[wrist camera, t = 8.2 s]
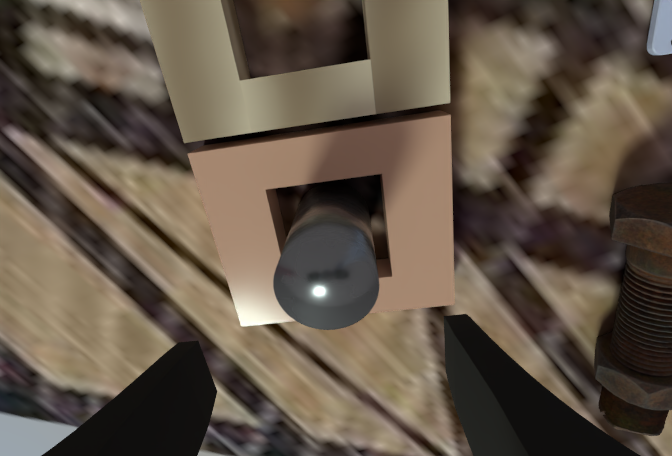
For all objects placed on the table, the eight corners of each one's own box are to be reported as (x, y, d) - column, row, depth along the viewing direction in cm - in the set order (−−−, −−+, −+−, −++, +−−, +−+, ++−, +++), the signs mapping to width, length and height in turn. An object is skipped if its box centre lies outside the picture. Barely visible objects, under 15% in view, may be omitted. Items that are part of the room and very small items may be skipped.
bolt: (581, 372, 27) (611, 178, 20) (674, 396, 24) (742, 180, 17) (580, 443, 22) (617, 225, 16) (692, 481, 20) (791, 236, 13)
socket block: (440, 110, 18) (450, 114, 16) (445, 284, 22) (454, 304, 20) (203, 145, 19) (187, 153, 17) (250, 305, 23) (241, 326, 21)
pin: (364, 177, 19) (373, 232, 13) (373, 245, 21) (384, 324, 14) (290, 188, 19) (262, 246, 13) (304, 253, 21) (285, 334, 15)
